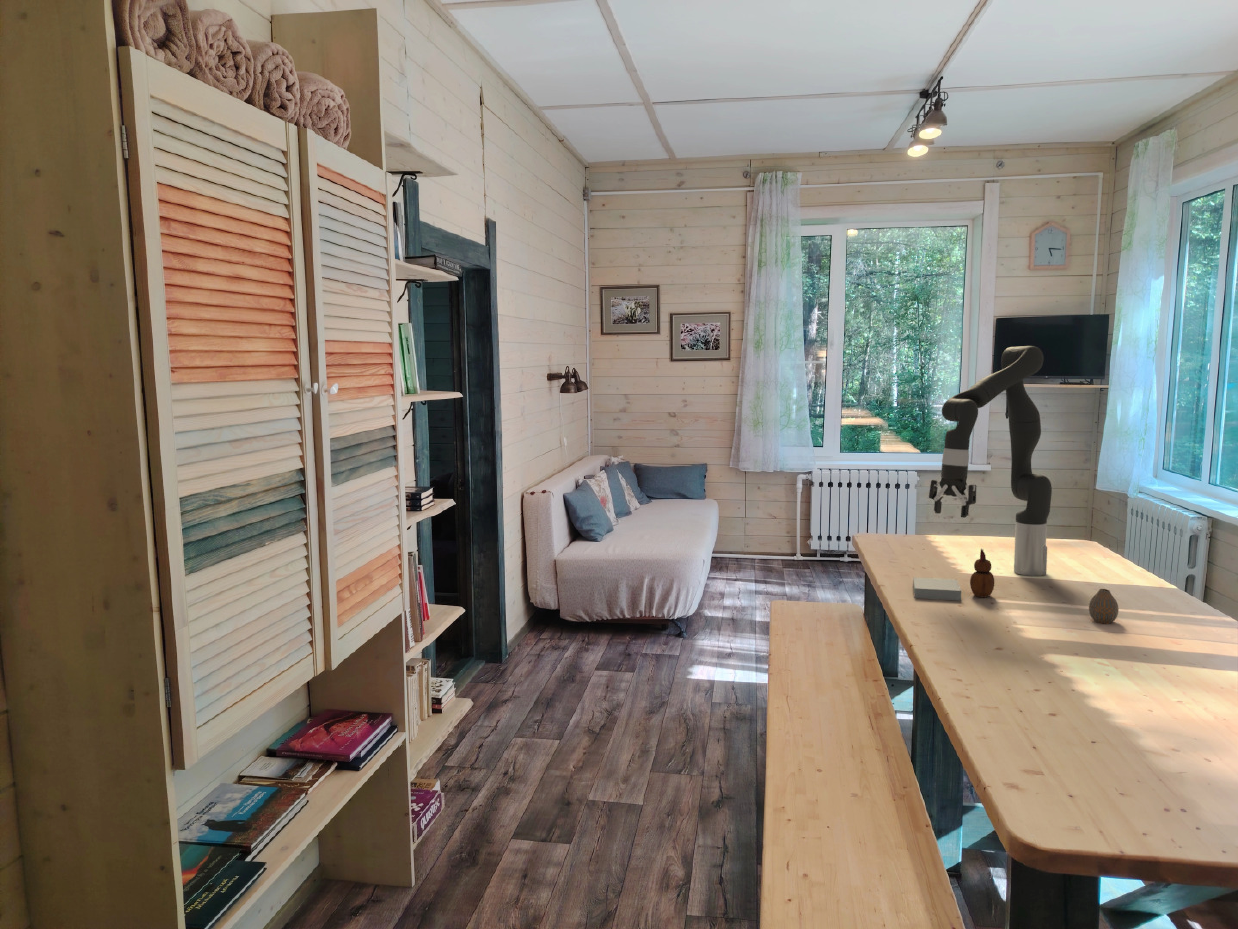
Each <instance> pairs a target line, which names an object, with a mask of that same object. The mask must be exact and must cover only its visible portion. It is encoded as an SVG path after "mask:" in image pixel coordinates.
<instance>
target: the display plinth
mask: <svg viewBox="0 0 1238 929" xmlns="http://www.w3.org/2000/svg"><path fill="white" fill-rule="evenodd" d="M912 588H913V590H912V591H913V595H914V599H927V600H928V599H929V600H946V601H960V602H961V601H962V590H961V587H960V584H959V581H958V579H953V578H938V577H937V578H934V577H919V576H918V577H912Z"/></svg>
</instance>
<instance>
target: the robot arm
mask: <svg viewBox="0 0 1238 929" xmlns="http://www.w3.org/2000/svg"><path fill="white" fill-rule="evenodd" d="M1044 359H1045V358H1044V353H1043V352H1042V350H1041V348H1039V347H1037V346H1034V345H1024V346H1022V345H1021V346H1010V347H1007V348H1006V349H1004V351H1003V352H1002V355H1001V359H1000V360H1001V362H1000V364H1001V365H1000V366H1001V370H999V371H996V372H993V373H991V374H989V375H987V376H985V377H983V378H981V379H980V380H978V381H977V382H976V383H974V384H973V385H971V387H970V388H968V389H966V390H964V391H962V392H960V393H958V394H955V395H953V396H952V397H950V398H948V399H947V400H946V401H945V402H944V403H943V405H942V408H941V415H942V417H943V418H944V420H946V421H948V422H953V423H955V422H956V423H957V425H956V427H955V428H953V429H948V430H946V433H945V439H944V448H943V453H942V459H941V471H940V472H941V473H940V477H941V478H940V480H939V479H932V480H931V481H930V484H929V486H930V487H929V492H928V493H929V494H928V498H929V499H932V500H933V501H934V504H933V507H934V508H933V511H934V512H935V514H941V513H942V506H943V505H942V504H943V501H942V500H943V499H944V498H945V497H946V496H952V497H955V498H957V499H958V500H959V501H960V502H961V504H962V505H961V509H960V518H967V516H969V510H970V506H971V505H975V504H977V485H976V484H968V483H967V478H968V470H969V460H970V453H969V452H970V451H969V449H970V440H971V438H970V437H971V434H972V432H973V430H974V426H975V424H976V422H977V420H978V415H979V409H981V408H983V407H985V406H986V405H988V404H989V403H990V402H991V401H992V400H994V399H995V398H996V397H997V396H999V395H1000V394H1001V393H1003V392H1004V391H1005V392H1006V393H1005V395H1006V402H1007V403H1006V404H1007V412H1008V413H1007V414H1008V429H1009V431H1008V432H1009V436H1010V437H1009V440H1010V452H1011V453H1010V454H1011V456H1010V458H1011V466H1010V467H1011V468H1010V469H1011V470H1010V471H1011V472H1010V487H1011V488H1010V489H1011V492H1012V494H1013V496H1014V497H1015V499H1018V500H1020V501H1025V502H1026V507H1025V509H1024V510H1020V511H1018V512H1016V514H1015V524H1014V525H1015V526H1014V527H1015V528H1014V529H1015V530H1014V532H1015V533H1014V556H1013V559H1014V560H1013V572H1014V574H1019V575H1021V576H1030V577H1039V576H1040V577H1041V576H1047V570H1048V569H1047V568H1048V565H1047V564H1048V546H1047V525H1048V524H1047V523H1048V517H1049V515H1050V512H1051V502H1052V495H1053V494H1052V491H1053V490H1052V489H1053V488H1052V482H1051V480H1050V479H1049V478H1048V477H1047V476H1045V475H1042V474H1037V473H1033V470H1032V457H1033V452H1034V451H1035V449H1036V447H1037V445H1038V443H1039V441H1040V439H1041V435H1042V427H1041V426H1042V425H1041V424H1042V423H1041V415H1040V412H1039V410H1038V408H1037V406H1036V404H1035V403H1034V401H1033V400H1032V398H1031V397H1030V396H1029V394H1028V392H1027V390H1026V388H1025V384H1024V380H1025V379H1026V378H1028V377H1031V376H1033V375H1035V374H1036V373H1038V372H1039V371H1040V370H1041V368H1042V367H1043V364H1044ZM939 487H940V488H941V489H940V490H939V491H938V489H939ZM966 491H967V492H966ZM967 493H968V495H967Z"/></svg>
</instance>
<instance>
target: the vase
mask: <svg viewBox="0 0 1238 929" xmlns="http://www.w3.org/2000/svg"><path fill="white" fill-rule="evenodd" d="M1119 609H1120V608H1119V604H1118V602H1117V599H1116V598H1115V597H1114V596H1113V595H1112V593H1111V591H1110V589H1107V588H1100V589H1099V590H1098V591H1097V592H1096V593H1095V594H1094V595H1093V596H1092V597H1091V599H1090V600H1089V603H1088V612H1089V615H1090V617H1091V619H1092V620H1093V621H1094V622H1096V623H1100V624H1111V623H1113V622H1115V620H1117V618H1118V616H1119V611H1120V610H1119Z"/></svg>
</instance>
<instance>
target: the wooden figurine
mask: <svg viewBox="0 0 1238 929" xmlns="http://www.w3.org/2000/svg"><path fill="white" fill-rule="evenodd" d="M986 556H987V555H986V554H985V551H984V548H980V555H979V559H976V560H975V561H974V562H973V563H974V564H973V568H974V570H975V571H974V572H973V573H972V574H971V576H970V579H969V585H970V589H971V591H972V594H973V595H974V596H976V597H979V598H988V597H990V596H991V595H992V593H993V591H994V587H995V577H994V574H993V573H992V572H991V570H992V562H991V561H990V559H989V560H988V559H987V558H986Z"/></svg>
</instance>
